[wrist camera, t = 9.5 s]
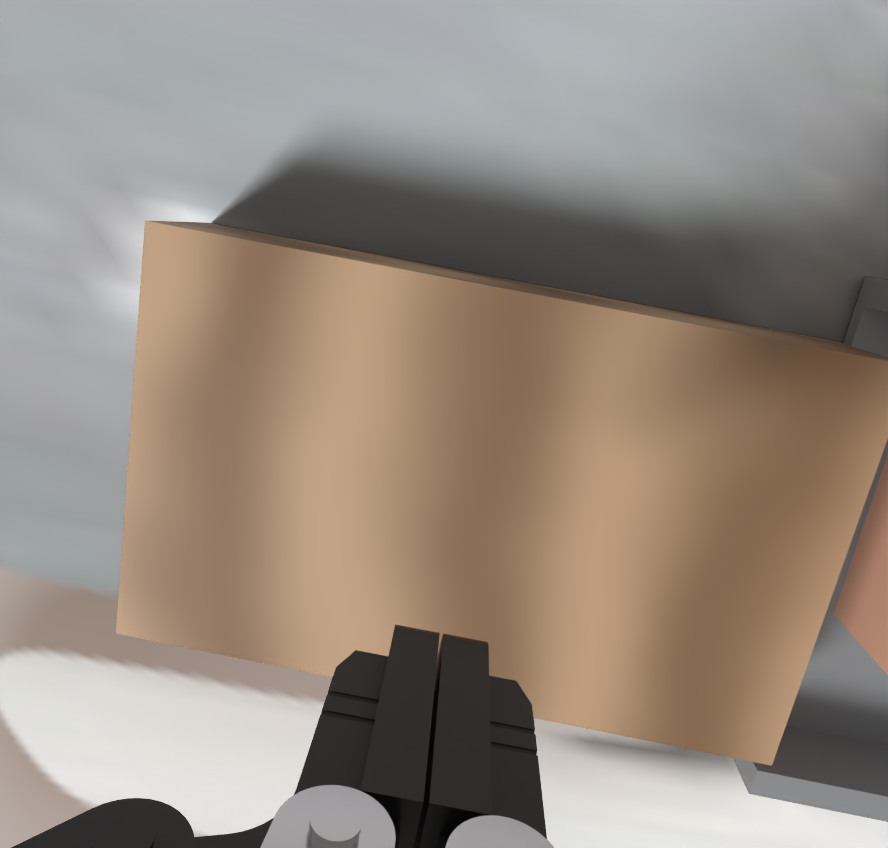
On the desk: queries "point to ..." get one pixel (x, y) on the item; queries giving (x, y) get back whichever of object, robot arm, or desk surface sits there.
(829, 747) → the box
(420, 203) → the desk surface
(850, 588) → the tile
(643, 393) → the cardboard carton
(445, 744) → the robot arm
